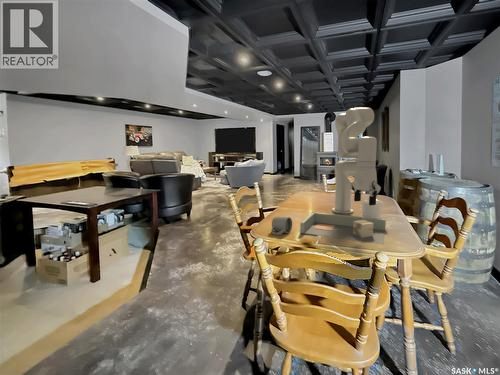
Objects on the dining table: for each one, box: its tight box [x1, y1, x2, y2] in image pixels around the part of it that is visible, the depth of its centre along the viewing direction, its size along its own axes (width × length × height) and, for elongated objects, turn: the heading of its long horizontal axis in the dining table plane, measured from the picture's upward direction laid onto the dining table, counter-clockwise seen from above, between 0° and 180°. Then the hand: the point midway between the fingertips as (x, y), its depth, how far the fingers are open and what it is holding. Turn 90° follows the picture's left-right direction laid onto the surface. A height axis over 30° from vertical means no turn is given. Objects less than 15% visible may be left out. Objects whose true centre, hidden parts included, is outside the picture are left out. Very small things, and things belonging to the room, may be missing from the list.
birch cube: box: [353, 220, 373, 237], centre depth 128 cm, size 6×6×6 cm
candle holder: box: [361, 199, 384, 219], centre depth 146 cm, size 10×10×12 cm
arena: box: [299, 211, 387, 245], centre depth 134 cm, size 22×36×6 cm, turn 63°
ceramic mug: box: [271, 216, 293, 236], centre depth 134 cm, size 11×8×8 cm
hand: (364, 203), depth 125 cm, fingers open, 9 cm apart
